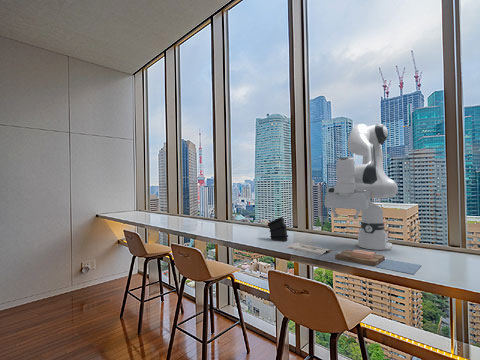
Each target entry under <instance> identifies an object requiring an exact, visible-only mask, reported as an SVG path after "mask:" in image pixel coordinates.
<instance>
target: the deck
mask: <svg viewBox="0 0 480 360" xmlns="http://www.w3.org/2000/svg"><path fill="white" fill-rule="evenodd" d="M352 251H353V249H352V250H351V249H345V250H343V251H340V252H339V253H336V254H334V260H339V261H345V262H351V263H356V264H360V265H365V266H370V267H376V266H377V265H379V264H380V263H382V262H383V261H385V260H386V259H385V257H386V256H385V255H383V254H382V255H381V254H376V257H375V258H373V259H366V258H360V257H355V256H351V252H352Z"/></svg>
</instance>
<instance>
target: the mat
mask: <svg viewBox="0 0 480 360" xmlns="http://www.w3.org/2000/svg"><path fill="white" fill-rule="evenodd" d="M421 267H422V264H419V263H417V264H416V263H411V262H410V263H409V262H405V261H399V260H393V259H385V260H384V261H383V262H381V263H380V264H378V265H377V266H375V268H377V269H383V270H388V271H392V272H397V273H403V274H407V275H413V276H414V274H416V272H418V270H419V269H420V268H421Z"/></svg>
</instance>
